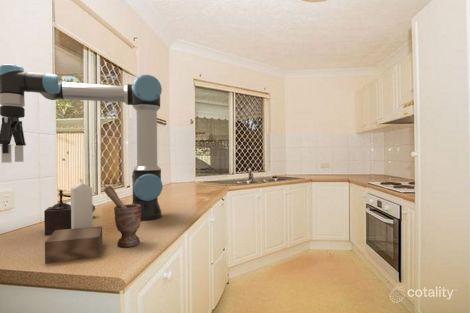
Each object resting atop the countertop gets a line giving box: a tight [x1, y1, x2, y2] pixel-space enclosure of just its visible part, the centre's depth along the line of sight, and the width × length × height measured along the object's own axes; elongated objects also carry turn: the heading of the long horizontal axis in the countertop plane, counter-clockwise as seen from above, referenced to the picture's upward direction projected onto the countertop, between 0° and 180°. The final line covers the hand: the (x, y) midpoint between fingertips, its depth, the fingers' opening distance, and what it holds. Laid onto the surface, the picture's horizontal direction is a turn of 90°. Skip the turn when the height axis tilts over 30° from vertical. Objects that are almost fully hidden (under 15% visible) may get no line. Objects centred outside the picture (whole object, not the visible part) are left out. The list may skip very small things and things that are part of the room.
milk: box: [70, 178, 94, 229], centre depth 105 cm, size 6×6×22 cm
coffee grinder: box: [43, 189, 71, 236], centre depth 119 cm, size 16×11×18 cm
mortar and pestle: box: [104, 185, 142, 248], centre depth 99 cm, size 12×9×20 cm
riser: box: [44, 225, 103, 264], centre depth 92 cm, size 14×14×6 cm
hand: (13, 162), depth 112 cm, fingers open, 13 cm apart
